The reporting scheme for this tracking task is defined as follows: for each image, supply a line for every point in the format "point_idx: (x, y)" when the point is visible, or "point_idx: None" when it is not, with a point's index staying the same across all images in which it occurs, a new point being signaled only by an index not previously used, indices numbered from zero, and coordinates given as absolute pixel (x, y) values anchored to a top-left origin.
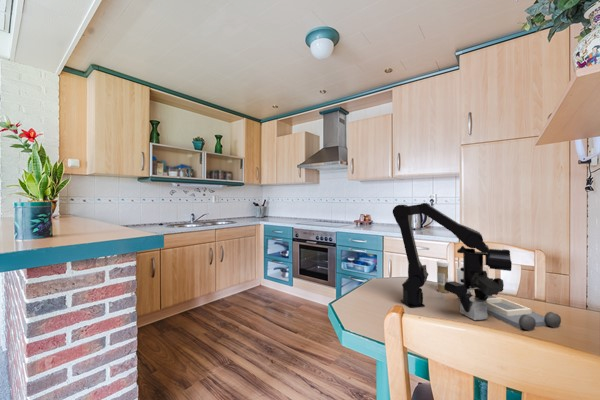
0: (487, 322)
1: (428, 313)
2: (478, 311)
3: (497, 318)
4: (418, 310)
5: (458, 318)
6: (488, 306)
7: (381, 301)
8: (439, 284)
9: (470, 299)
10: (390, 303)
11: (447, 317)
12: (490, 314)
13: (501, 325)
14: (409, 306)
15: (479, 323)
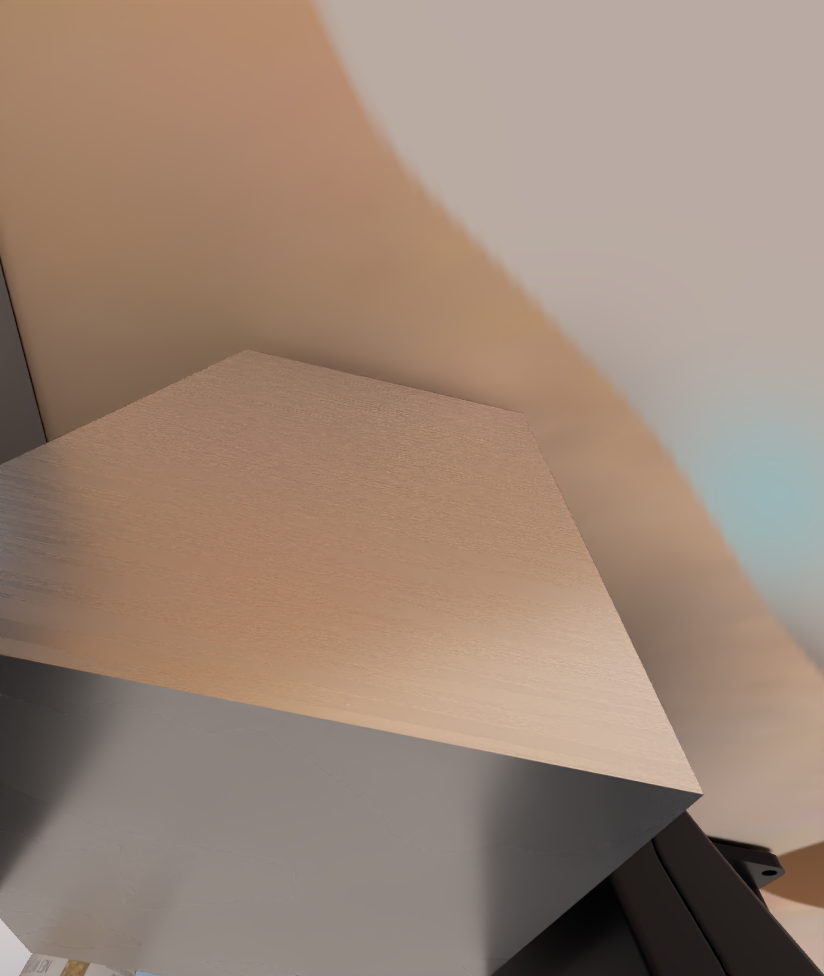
0: (338, 282)
1: (775, 752)
2: (436, 464)
3: (9, 306)
4: (772, 808)
5: (623, 564)
6: None
7: (813, 945)
8: (132, 970)
9: (451, 920)
10: (800, 919)
11: (718, 633)
12: (34, 439)
13: (173, 27)
14: (780, 869)
15: (523, 322)
